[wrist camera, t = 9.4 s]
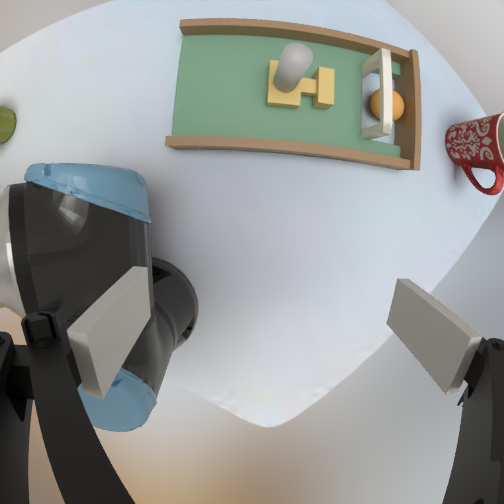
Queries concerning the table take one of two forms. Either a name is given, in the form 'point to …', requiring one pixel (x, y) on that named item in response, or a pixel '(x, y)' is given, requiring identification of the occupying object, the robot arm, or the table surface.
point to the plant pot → (6, 124)
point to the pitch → (306, 116)
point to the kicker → (298, 80)
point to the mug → (479, 148)
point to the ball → (396, 105)
